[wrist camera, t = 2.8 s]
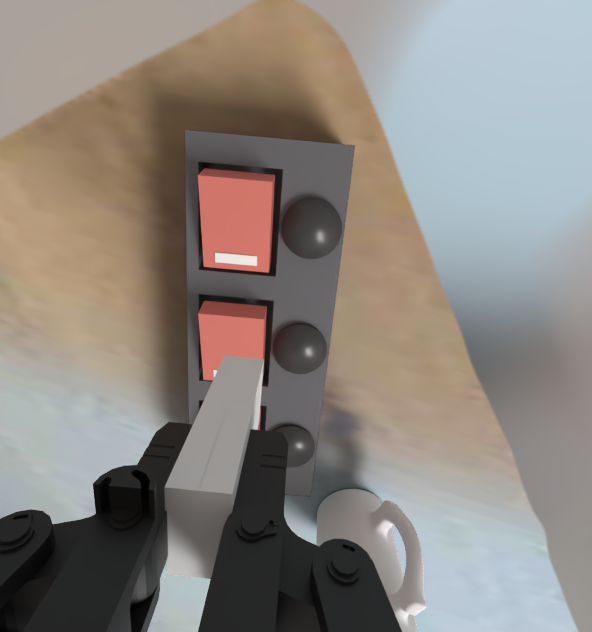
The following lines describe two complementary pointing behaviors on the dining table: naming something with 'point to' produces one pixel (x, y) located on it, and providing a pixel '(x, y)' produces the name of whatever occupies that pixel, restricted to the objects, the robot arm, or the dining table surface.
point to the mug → (378, 545)
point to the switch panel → (277, 279)
